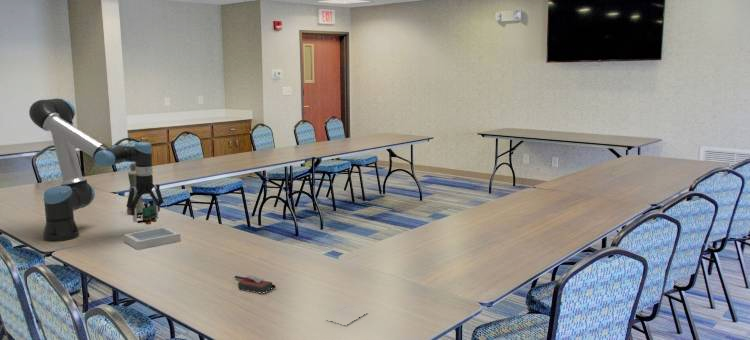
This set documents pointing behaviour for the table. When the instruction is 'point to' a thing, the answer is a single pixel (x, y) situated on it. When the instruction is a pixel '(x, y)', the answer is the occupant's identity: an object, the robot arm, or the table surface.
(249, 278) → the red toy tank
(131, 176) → the bottle
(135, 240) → the case
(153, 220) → the binoculars
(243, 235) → the table surface
